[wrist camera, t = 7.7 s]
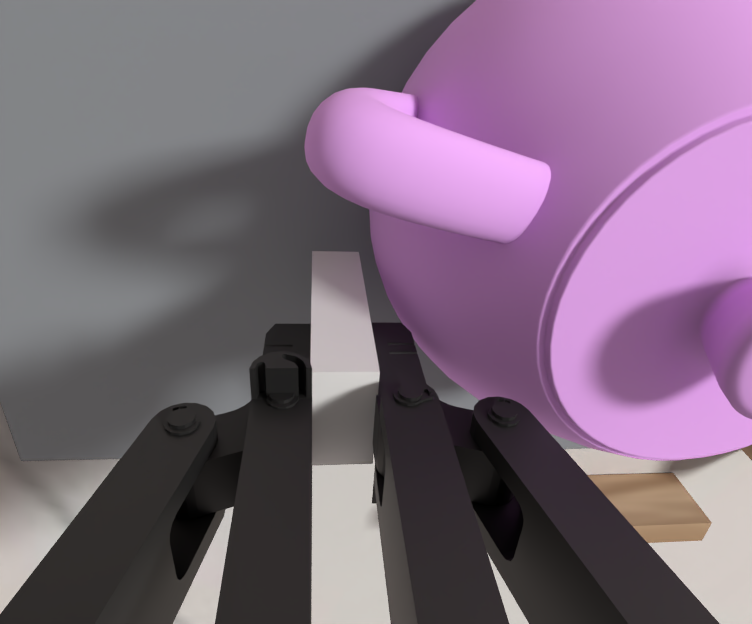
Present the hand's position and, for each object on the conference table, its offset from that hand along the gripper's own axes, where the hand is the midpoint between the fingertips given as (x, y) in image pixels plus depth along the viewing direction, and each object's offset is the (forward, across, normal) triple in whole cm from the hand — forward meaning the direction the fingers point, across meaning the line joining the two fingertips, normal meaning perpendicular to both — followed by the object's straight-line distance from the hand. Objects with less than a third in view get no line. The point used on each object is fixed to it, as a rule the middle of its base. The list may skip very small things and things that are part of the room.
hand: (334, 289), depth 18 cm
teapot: (+2, +9, +3) cm, 9 cm away
